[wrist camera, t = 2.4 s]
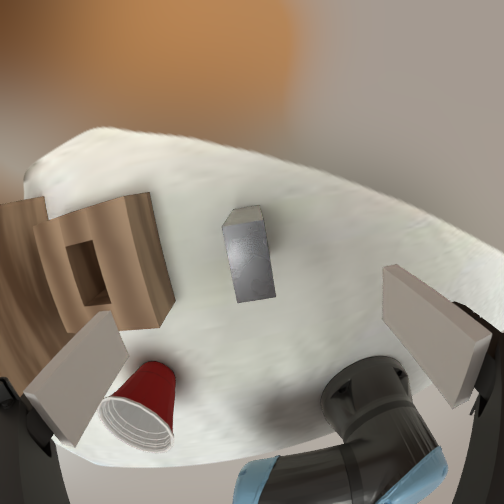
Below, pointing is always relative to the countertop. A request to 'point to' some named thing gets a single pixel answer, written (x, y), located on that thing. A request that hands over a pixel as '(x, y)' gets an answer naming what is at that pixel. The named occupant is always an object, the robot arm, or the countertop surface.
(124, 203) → the wooden panel stand
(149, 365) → the plastic cup
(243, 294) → the dark grey rectangular post
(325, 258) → the countertop surface
